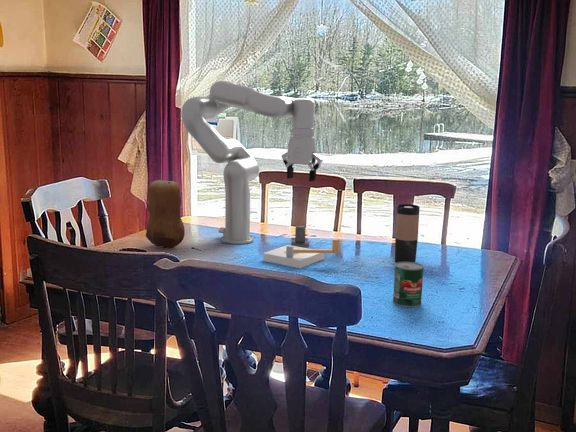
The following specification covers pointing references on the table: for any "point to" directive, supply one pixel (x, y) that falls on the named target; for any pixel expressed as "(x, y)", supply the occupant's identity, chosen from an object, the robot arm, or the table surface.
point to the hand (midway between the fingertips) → (301, 179)
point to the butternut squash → (164, 214)
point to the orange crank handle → (291, 250)
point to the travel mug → (406, 233)
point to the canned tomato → (408, 284)
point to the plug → (300, 237)
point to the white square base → (296, 261)
